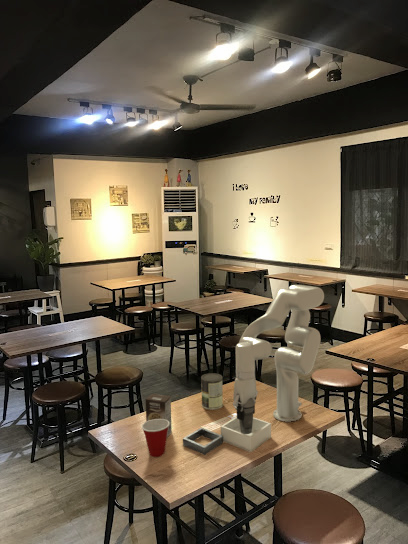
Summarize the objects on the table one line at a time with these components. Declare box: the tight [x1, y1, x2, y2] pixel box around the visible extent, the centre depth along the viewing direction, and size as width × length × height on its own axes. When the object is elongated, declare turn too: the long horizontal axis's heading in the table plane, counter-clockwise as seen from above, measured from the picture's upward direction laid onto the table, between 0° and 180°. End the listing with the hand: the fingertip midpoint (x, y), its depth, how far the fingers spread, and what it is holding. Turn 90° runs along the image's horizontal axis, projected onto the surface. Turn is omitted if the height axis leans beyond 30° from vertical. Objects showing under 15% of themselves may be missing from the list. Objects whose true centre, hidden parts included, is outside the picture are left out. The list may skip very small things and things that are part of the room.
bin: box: [220, 416, 272, 453], centre depth 178 cm, size 15×15×6 cm
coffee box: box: [145, 393, 173, 438], centre depth 183 cm, size 9×6×16 cm
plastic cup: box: [140, 419, 169, 458], centre depth 168 cm, size 11×11×12 cm
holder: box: [182, 427, 224, 456], centre depth 174 cm, size 11×11×3 cm
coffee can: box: [200, 372, 224, 411], centre depth 209 cm, size 10×10×14 cm
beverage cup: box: [239, 398, 256, 434], centre depth 176 cm, size 7×7×20 cm
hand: (245, 415), depth 177 cm, fingers closed on beverage cup, 6 cm apart
